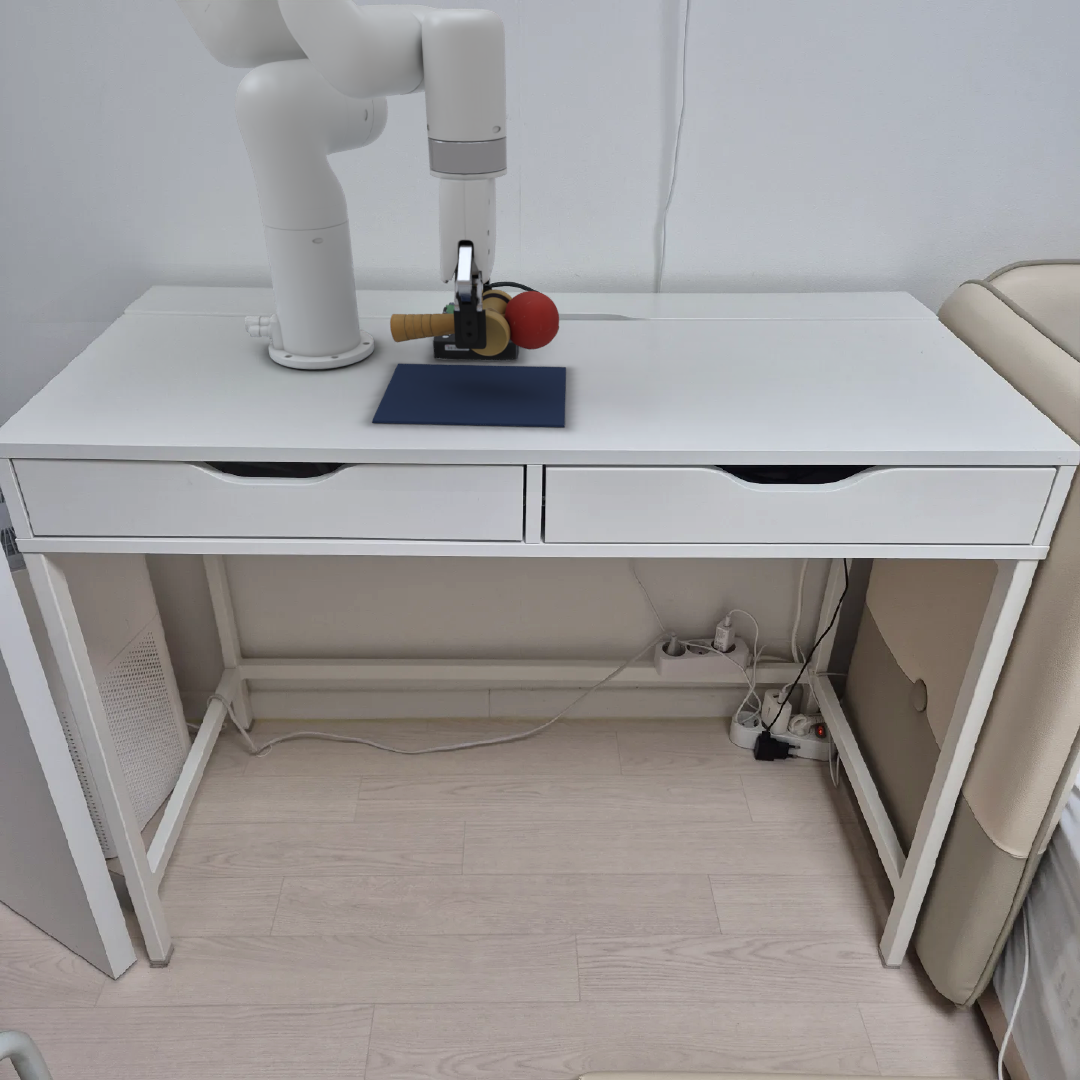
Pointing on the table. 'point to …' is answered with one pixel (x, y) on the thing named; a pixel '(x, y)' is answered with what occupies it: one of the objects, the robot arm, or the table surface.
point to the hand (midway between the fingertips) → (474, 333)
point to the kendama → (491, 322)
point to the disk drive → (448, 350)
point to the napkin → (474, 395)
